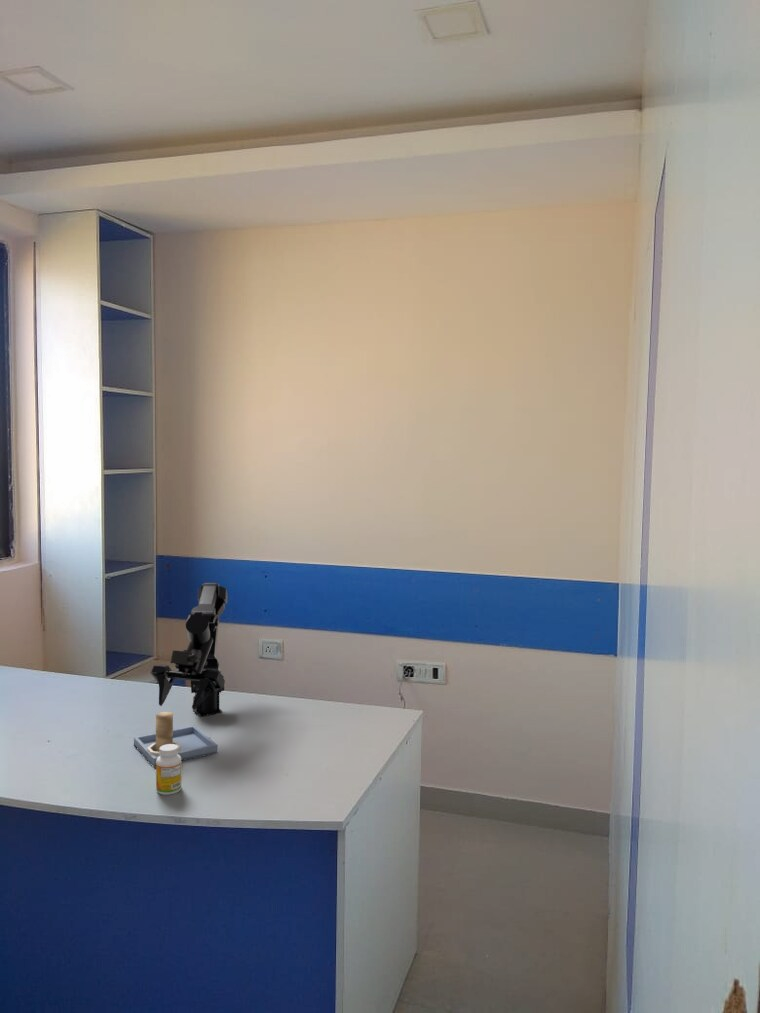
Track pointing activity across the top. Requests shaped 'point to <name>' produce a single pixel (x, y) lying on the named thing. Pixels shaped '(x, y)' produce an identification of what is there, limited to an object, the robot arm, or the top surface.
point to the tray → (178, 744)
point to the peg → (164, 729)
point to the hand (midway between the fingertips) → (176, 706)
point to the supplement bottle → (168, 770)
